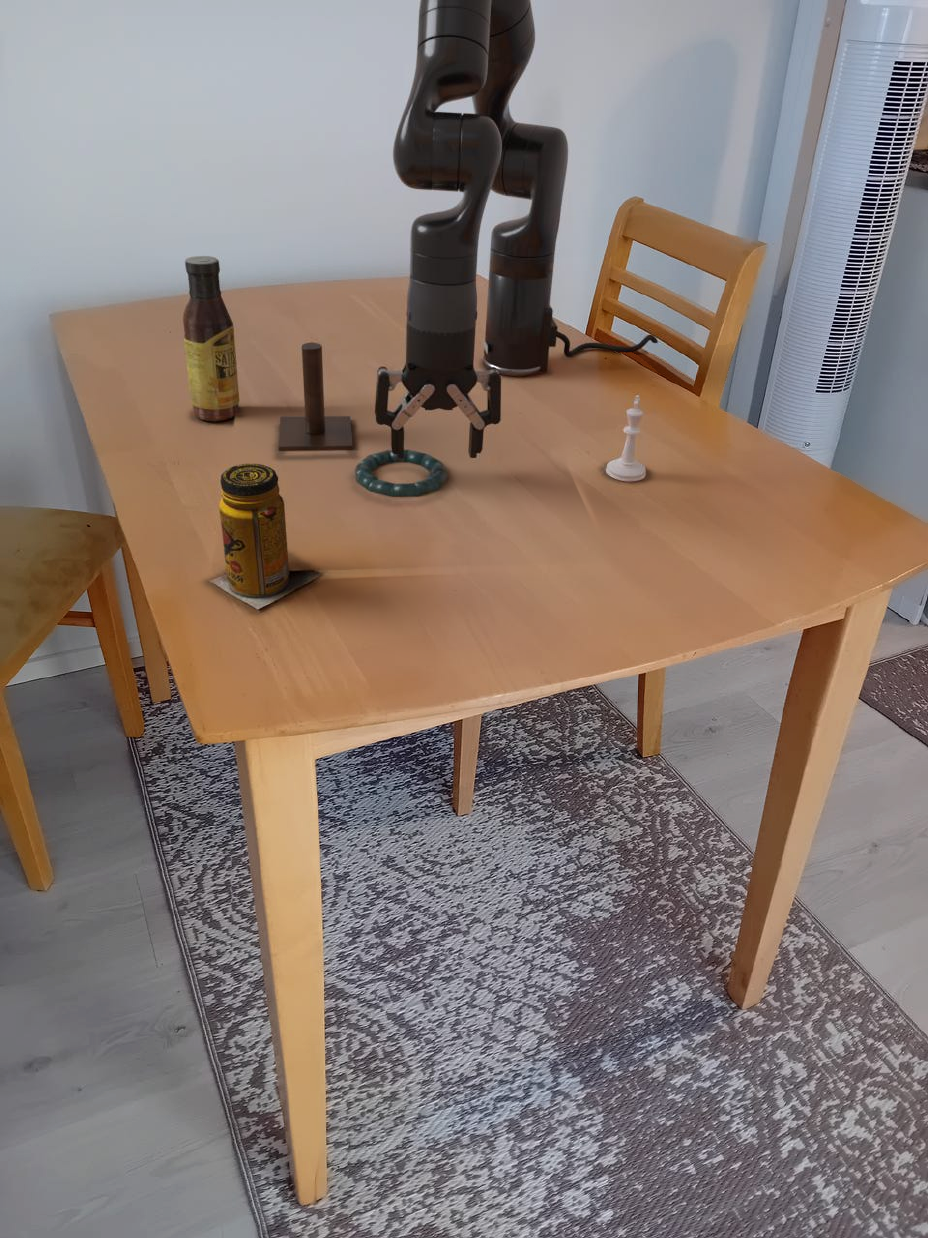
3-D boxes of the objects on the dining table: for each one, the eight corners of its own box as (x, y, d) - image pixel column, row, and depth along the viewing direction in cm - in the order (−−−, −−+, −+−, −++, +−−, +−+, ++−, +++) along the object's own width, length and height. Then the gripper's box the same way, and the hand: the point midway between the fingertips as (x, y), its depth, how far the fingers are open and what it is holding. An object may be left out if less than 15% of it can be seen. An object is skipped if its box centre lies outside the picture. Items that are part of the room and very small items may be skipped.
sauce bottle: (229, 426, 127) (213, 269, 115) (184, 420, 127) (164, 264, 116) (248, 407, 132) (235, 255, 120) (205, 401, 133) (188, 250, 121)
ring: (441, 461, 121) (441, 446, 120) (451, 503, 112) (452, 487, 111) (354, 462, 120) (353, 447, 119) (357, 505, 111) (357, 489, 110)
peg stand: (350, 426, 128) (348, 332, 121) (352, 456, 121) (350, 359, 114) (281, 427, 127) (274, 332, 120) (279, 457, 120) (272, 359, 113)
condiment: (209, 582, 97) (195, 473, 90) (275, 550, 102) (267, 445, 95) (257, 611, 93) (247, 500, 86) (323, 577, 99) (318, 469, 92)
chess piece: (648, 468, 122) (661, 392, 117) (641, 484, 118) (654, 407, 113) (610, 460, 123) (621, 385, 118) (601, 476, 120) (612, 399, 114)
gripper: (501, 308, 109) (491, 442, 119) (373, 306, 107) (373, 442, 117) (511, 330, 103) (500, 469, 112) (377, 329, 101) (377, 470, 111)
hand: (436, 455), depth 115 cm, fingers open, 8 cm apart
